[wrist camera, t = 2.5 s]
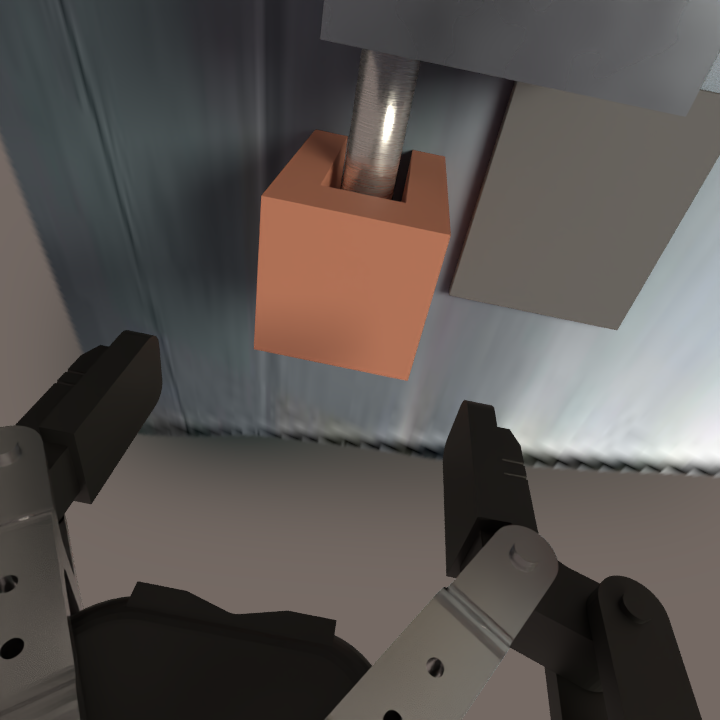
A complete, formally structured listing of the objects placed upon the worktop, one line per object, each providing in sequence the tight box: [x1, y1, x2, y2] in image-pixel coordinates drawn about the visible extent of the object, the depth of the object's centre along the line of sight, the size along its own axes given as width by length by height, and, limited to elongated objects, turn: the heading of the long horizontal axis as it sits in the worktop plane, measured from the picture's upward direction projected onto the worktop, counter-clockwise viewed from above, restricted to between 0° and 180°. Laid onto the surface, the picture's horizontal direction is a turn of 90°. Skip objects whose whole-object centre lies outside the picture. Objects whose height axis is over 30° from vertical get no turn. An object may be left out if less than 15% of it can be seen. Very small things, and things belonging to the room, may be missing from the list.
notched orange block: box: [254, 130, 451, 381], centre depth 21 cm, size 6×6×9 cm
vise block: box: [320, 0, 720, 200], centre depth 17 cm, size 18×9×13 cm, turn 170°
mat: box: [449, 81, 720, 330], centre depth 23 cm, size 9×11×1 cm
